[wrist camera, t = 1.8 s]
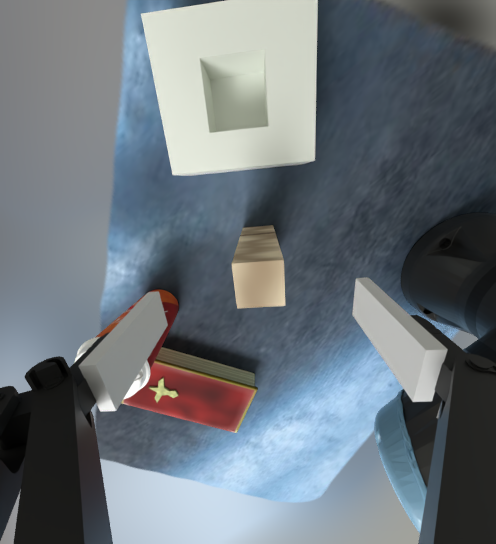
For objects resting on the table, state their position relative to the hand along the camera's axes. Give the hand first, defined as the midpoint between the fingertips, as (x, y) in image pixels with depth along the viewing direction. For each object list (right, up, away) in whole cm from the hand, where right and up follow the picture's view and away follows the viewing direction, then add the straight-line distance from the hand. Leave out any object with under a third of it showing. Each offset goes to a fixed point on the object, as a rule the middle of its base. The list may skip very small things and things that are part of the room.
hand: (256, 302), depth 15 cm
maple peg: (+1, +6, +16) cm, 17 cm away
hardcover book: (-11, -17, +27) cm, 34 cm away
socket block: (-1, +20, +10) cm, 23 cm away
